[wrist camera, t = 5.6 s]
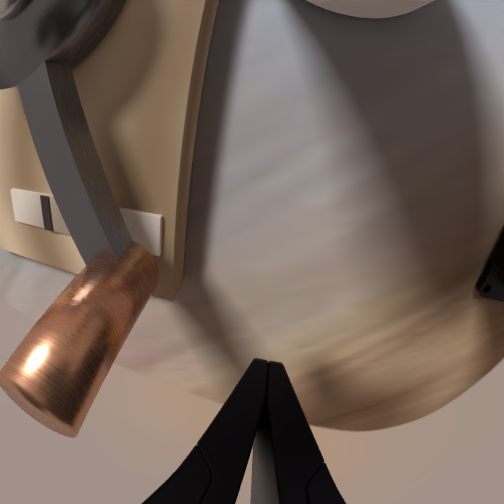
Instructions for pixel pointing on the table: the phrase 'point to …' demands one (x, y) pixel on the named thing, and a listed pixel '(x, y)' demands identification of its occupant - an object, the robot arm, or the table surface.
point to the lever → (71, 215)
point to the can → (371, 7)
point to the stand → (120, 138)
